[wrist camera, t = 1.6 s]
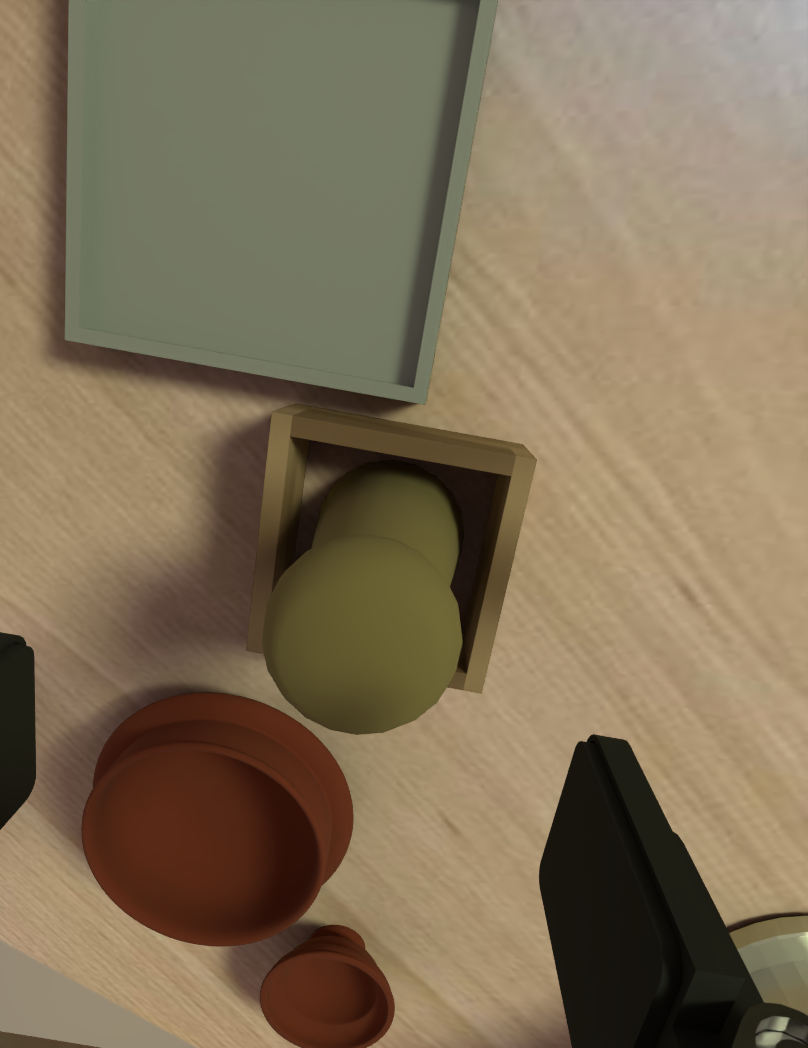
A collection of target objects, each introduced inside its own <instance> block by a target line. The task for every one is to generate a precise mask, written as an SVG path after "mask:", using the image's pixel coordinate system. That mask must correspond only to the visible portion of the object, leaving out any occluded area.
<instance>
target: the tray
mask: <svg viewBox="0 0 808 1048" xmlns="http://www.w3.org/2000/svg"><path fill="white" fill-rule="evenodd" d="M497 4H498V0H69V14H68V102H67V190H66V278H65V340H67V341H73V342H78V343H84V344H90V345H95V346H101V347H106V348H112V349H117V350H123V351H129V352H134V353H140V354H145V355H151V356H156V357H162V358H168V359H173V360H179V361H184V362H190V363H195V364H201V365H207V366H212V367H218V368H223V369H229V370H234V371H240V372H246V373H251V374H257V375H262V376H268V377H273V378H279V379H285V380H290V381H296V382H301V383H307V384H312V385H318V386H324V387H329V388H335V389H340V390H346V391H351V392H357V393H363V394H368V395H374V396H379V397H385V398H390V399H396V400H402V401H407V402H413V403H418V404H424V405H425V404H426V400H427V395H428V389H429V383H430V378H431V372H432V367H433V361H434V356H435V350H436V344H437V339H438V333H439V328H440V322H441V316H442V311H443V305H444V300H445V294H446V289H447V283H448V277H449V272H450V266H451V261H452V255H453V249H454V244H455V238H456V233H457V227H458V221H459V216H460V210H461V205H462V199H463V194H464V188H465V182H466V177H467V171H468V166H469V160H470V154H471V149H472V143H473V138H474V132H475V126H476V121H477V115H478V110H479V104H480V99H481V93H482V87H483V82H484V76H485V71H486V65H487V59H488V54H489V48H490V43H491V37H492V32H493V26H494V20H495V15H496V9H497Z"/></svg>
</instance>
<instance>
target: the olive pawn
mask: <svg viewBox="0 0 808 1048" xmlns="http://www.w3.org/2000/svg"><path fill="white" fill-rule="evenodd" d="M463 538H464V529H463V520H462V513H461V510H460V508H459V506H458V504H457V502H456V500H455V498H454V496H453V493H452V492H451V491H450V490H449V489H448V488H447V487H446V485H445V484H444V483H443V482H442V481H441V480H440V479H439V478H438V477H437V476H436V475H434V474H432V473H431V472H429V471H427V470H425V469H423V468H421V467H420V466H418V465H416V464H412V463H407V462H402V461H396V460H385V461H377V462H369V463H366V464H364V465H362V466H360V467H358V468H356V469H354V470H351V471H349V472H347V473H346V474H345V475H344V476H343V477H342V478H341V479H340V480H339V481H338V482H337V483H336V484H335V485H334V486H333V487H332V488H331V489H330V491H329V493H328V495H327V497H326V499H325V501H324V503H323V505H322V507H321V510H320V514H319V518H318V522H317V527H316V531H315V535H314V540H313V544H312V548H311V549H310V550H308V551H306V552H305V553H304V554H303V555H302V556H301V557H300V558H299V559H298V560H297V561H296V562H295V563H293V564H292V565H291V566H290V567H289V568H288V569H287V570H286V571H285V572H284V574H283V575H282V576H281V578H280V579H279V581H278V583H277V585H276V587H275V589H274V591H273V592H272V594H271V596H270V598H269V600H268V602H267V604H266V611H265V619H264V626H263V635H262V646H263V651H264V656H265V660H266V665H267V669H268V672H269V673H270V675H271V677H272V678H273V680H274V682H275V683H276V685H277V687H278V689H279V690H280V692H281V694H282V695H283V696H284V698H285V699H286V700H287V701H288V702H289V703H290V704H291V705H293V706H294V707H295V708H296V709H297V710H298V711H299V712H300V713H301V714H302V715H303V716H305V717H306V718H308V719H310V720H312V721H314V722H316V723H318V724H320V725H322V726H324V727H326V728H328V729H330V730H335V731H340V732H345V733H350V734H356V735H359V734H371V733H383V732H386V731H388V730H391V729H394V728H396V727H399V726H401V725H404V724H406V723H409V722H412V721H414V720H416V719H417V718H418V717H419V716H421V715H422V714H423V713H424V712H426V711H427V710H428V709H429V708H431V707H432V706H433V705H434V704H436V703H437V702H438V700H439V698H440V697H441V695H442V694H443V692H444V691H445V689H446V688H447V686H448V684H449V683H450V681H451V680H452V678H453V676H454V674H455V671H456V668H457V664H458V660H459V656H460V651H461V647H462V643H463V642H462V633H461V624H460V616H459V608H458V603H457V601H456V599H455V597H454V595H453V593H452V591H451V589H450V585H451V582H452V579H453V576H454V572H455V569H456V566H457V563H458V560H459V557H460V552H461V547H462V543H463Z"/></svg>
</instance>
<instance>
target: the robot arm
mask: <svg viewBox="0 0 808 1048" xmlns="http://www.w3.org/2000/svg"><path fill="white" fill-rule="evenodd" d="M35 780H36V741H35V675H34V651H33V649H32V648H31V647H29V646H26V642H25V640H24V638H23V637H21V636H19V635H13V634H7V633H1V632H0V830H1V828H2V827H3V826H4V825H5V824H6V823H7V822H8V820H9V819H10V818H11V817H12V816H13V815H14V814H15V813H16V811H17V810H18V809H19V808H20V807H21V806H22V805H23V803H24V802H25V801H26V800H27V798H28V797H29V795H30V793H31V792H32V789H33V787H34V784H35ZM539 884H540V891H541V896H542V900H543V905H544V910H545V915H546V920H547V925H548V930H549V935H550V940H551V945H552V950H553V955H554V960H555V965H556V970H557V975H558V980H559V985H560V990H561V995H562V999H563V1004H564V1009H565V1014H566V1019H567V1024H568V1029H569V1034H570V1039H571V1044H572V1048H808V916H795V917H781V918H776V919H771V920H767V921H762V922H757V923H754V924H751V925H748V926H746V927H743V928H740V929H738V930H735V931H732V932H730V933H729V932H728V930H727V928H726V926H725V924H724V922H723V920H722V918H721V916H720V914H719V912H718V910H717V908H716V906H715V904H714V902H713V900H712V898H711V896H710V894H709V892H708V890H707V888H706V886H705V885H704V883H703V881H702V879H701V877H700V875H699V873H698V871H697V869H696V867H695V865H694V863H693V861H692V859H691V857H690V855H689V853H688V851H687V849H686V847H685V845H684V843H683V842H682V840H681V839H680V837H679V836H678V835H677V834H676V833H674V832H673V831H672V829H671V827H670V825H669V823H668V821H667V819H666V817H665V815H664V813H663V811H662V809H661V807H660V805H659V803H658V801H657V799H656V797H655V795H654V793H653V791H652V789H651V787H650V785H649V783H648V781H647V779H646V777H645V775H644V773H643V771H642V769H641V767H640V765H639V763H638V761H637V759H636V757H635V755H634V753H633V751H632V748H631V746H630V745H629V743H628V742H627V741H626V740H623V739H617V738H611V737H605V736H600V735H594V734H593V735H591V736H590V737H589V738H588V740H587V742H583V741H580V742H578V744H577V745H576V748H575V751H574V754H573V757H572V760H571V764H570V767H569V770H568V774H567V777H566V780H565V784H564V787H563V790H562V793H561V797H560V800H559V803H558V807H557V810H556V813H555V816H554V820H553V823H552V826H551V830H550V833H549V836H548V839H547V843H546V846H545V849H544V853H543V856H542V859H541V863H540V870H539ZM0 1048H99V1047H93V1046H87V1045H81V1044H75V1043H69V1042H62V1041H57V1040H51V1039H44V1038H38V1037H32V1036H26V1035H20V1034H13V1033H7V1032H1V1031H0Z"/></svg>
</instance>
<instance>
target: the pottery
mask: <svg viewBox="0 0 808 1048" xmlns="http://www.w3.org/2000/svg"><path fill="white" fill-rule="evenodd" d="M352 829H353V805H352V799H351V795H350V791H349V787H348V784H347V782H346V779H345V777H344V775H343V773H342V771H341V769H340V767H339V765H338V763H337V762H336V760H335V759H334V757H333V756H332V754H331V753H330V752H329V750H328V749H327V748H326V747H325V746H324V744H323V743H322V742H321V741H320V740H319V739H318V738H317V737H316V736H315V735H314V734H313V733H312V732H311V731H309V730H308V729H307V728H306V727H304V726H303V725H302V724H301V723H299V722H298V721H296V720H295V719H293V718H292V717H290V716H288V715H287V714H285V713H283V712H281V711H279V710H277V709H275V708H273V707H271V706H269V705H266V704H264V703H261V702H258V701H255V700H252V699H249V698H245V697H241V696H236V695H230V694H223V693H190V694H183V695H178V696H173V697H169V698H166V699H163V700H160V701H157V702H155V703H152V704H150V705H148V706H146V707H144V708H142V709H140V710H139V711H137V712H136V713H134V714H133V715H131V716H130V717H129V718H127V719H126V720H125V721H124V722H123V723H122V724H121V725H120V726H119V727H118V728H117V729H116V730H115V731H114V732H113V734H112V735H111V736H110V738H109V739H108V741H107V742H106V744H105V745H104V747H103V749H102V751H101V753H100V756H99V758H98V761H97V765H96V768H95V773H94V780H93V790H92V791H91V793H90V795H89V797H88V800H87V802H86V805H85V809H84V813H83V818H82V843H83V848H84V852H85V856H86V859H87V862H88V864H89V867H90V869H91V871H92V873H93V875H94V877H95V879H96V880H97V882H98V883H99V885H100V886H101V888H102V889H103V890H104V892H105V893H106V894H107V895H108V896H109V898H110V899H111V900H112V901H113V902H114V903H115V904H116V905H117V906H118V907H119V908H121V909H122V910H123V911H124V912H125V913H127V914H128V915H129V916H130V917H132V918H133V919H135V920H136V921H138V922H139V923H141V924H143V925H144V926H146V927H148V928H150V929H152V930H154V931H156V932H158V933H160V934H162V935H165V936H168V937H170V938H173V939H176V940H180V941H183V942H187V943H192V944H198V945H205V946H237V945H244V944H249V943H254V942H257V941H261V940H264V939H267V938H269V937H272V936H274V935H276V934H278V933H280V932H282V931H283V930H285V929H287V928H288V927H290V926H291V925H292V924H294V923H295V922H296V921H297V920H298V919H299V918H301V917H302V916H303V915H304V913H305V912H306V911H307V910H308V909H309V908H310V906H311V905H312V903H313V902H314V900H315V899H316V897H317V895H318V893H319V891H320V888H321V886H322V885H323V884H324V883H325V882H326V881H327V880H328V879H329V878H330V877H331V876H332V875H333V874H334V872H335V871H336V870H337V868H338V867H339V865H340V864H341V862H342V860H343V858H344V856H345V854H346V852H347V849H348V846H349V843H350V840H351V835H352ZM260 1004H261V1008H262V1011H263V1014H264V1016H265V1018H266V1020H267V1021H268V1023H269V1024H270V1025H271V1027H272V1028H273V1029H274V1030H275V1031H276V1032H277V1033H278V1034H279V1035H280V1036H282V1037H283V1038H284V1039H286V1040H287V1041H289V1042H291V1043H293V1044H294V1045H296V1046H299V1047H301V1048H367V1047H369V1046H371V1045H372V1044H374V1043H376V1042H377V1041H378V1040H379V1039H381V1038H382V1037H383V1036H384V1035H385V1033H386V1032H387V1031H388V1029H389V1028H390V1026H391V1024H392V1021H393V1018H394V1011H395V1005H394V999H393V995H392V992H391V989H390V986H389V984H388V981H387V979H386V977H385V976H384V974H383V973H382V971H381V970H380V969H379V967H378V966H377V964H376V963H375V961H374V959H373V958H372V957H371V955H370V954H369V953H368V952H367V951H366V950H365V944H364V941H363V939H362V938H361V936H360V935H359V934H358V933H356V932H355V931H354V930H352V929H350V928H348V927H345V926H341V925H327V926H324V927H321V928H319V929H317V930H316V931H315V932H314V933H313V934H312V935H311V937H310V939H309V940H308V941H306V942H304V943H302V944H300V945H299V946H297V947H296V948H295V949H294V950H293V951H291V952H289V953H288V954H286V955H285V956H283V957H282V958H281V959H280V960H279V961H278V962H277V963H276V964H275V965H274V966H273V968H272V969H271V970H270V971H269V973H268V974H267V975H266V977H265V979H264V981H263V983H262V986H261V991H260Z"/></svg>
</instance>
